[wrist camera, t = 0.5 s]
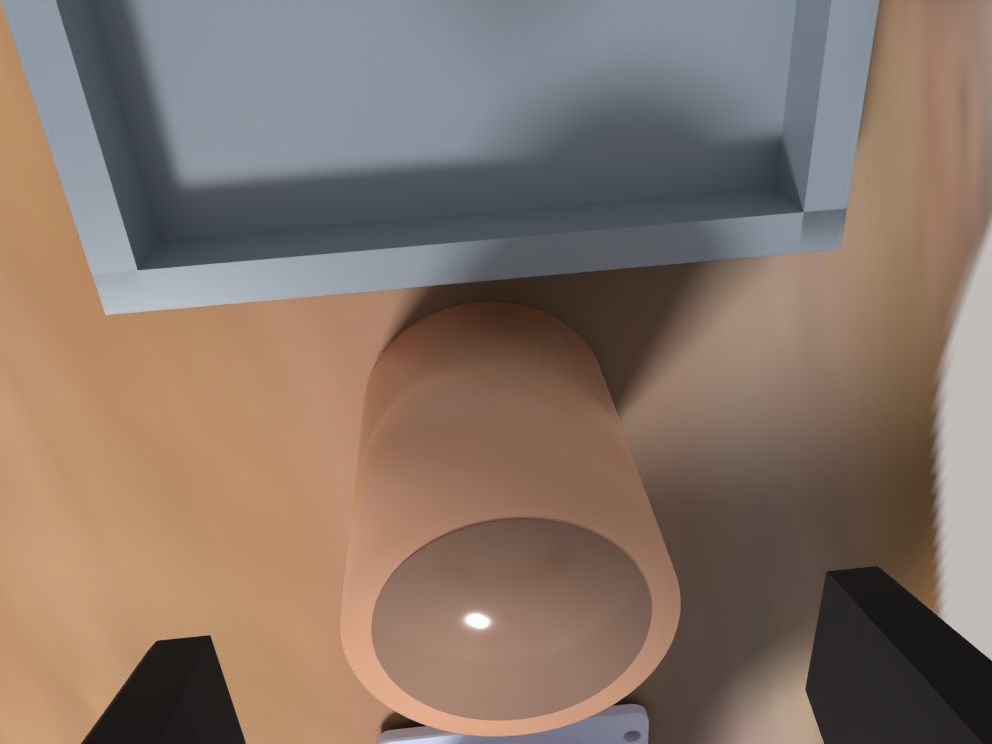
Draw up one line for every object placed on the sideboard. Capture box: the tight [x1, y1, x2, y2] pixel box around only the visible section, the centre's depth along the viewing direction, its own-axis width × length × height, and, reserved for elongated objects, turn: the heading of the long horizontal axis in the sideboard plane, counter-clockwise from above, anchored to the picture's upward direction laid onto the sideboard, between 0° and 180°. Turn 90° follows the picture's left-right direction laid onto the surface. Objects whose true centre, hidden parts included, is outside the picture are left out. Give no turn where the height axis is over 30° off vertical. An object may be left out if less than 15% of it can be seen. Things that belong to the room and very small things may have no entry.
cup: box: [340, 301, 681, 736], centre depth 17 cm, size 6×6×6 cm
